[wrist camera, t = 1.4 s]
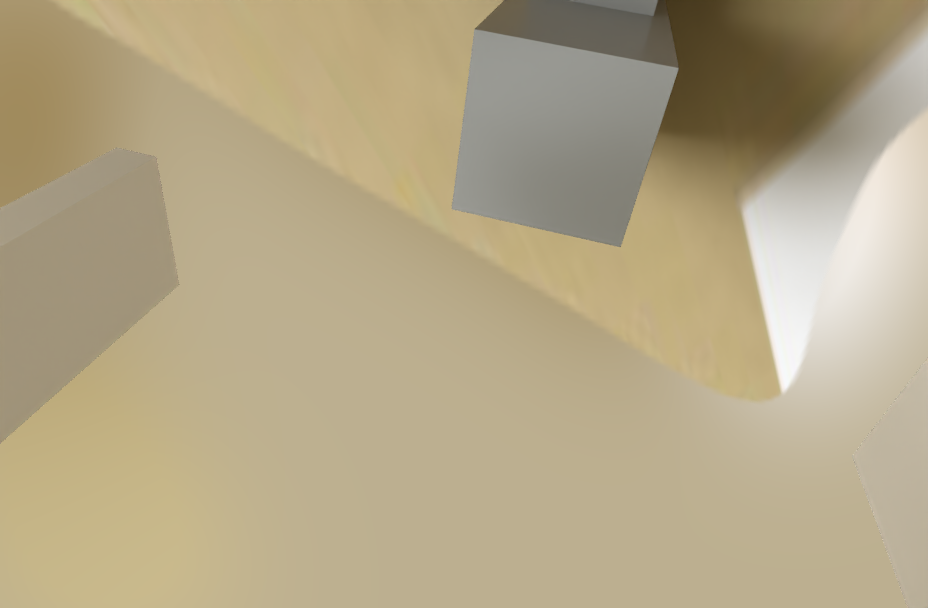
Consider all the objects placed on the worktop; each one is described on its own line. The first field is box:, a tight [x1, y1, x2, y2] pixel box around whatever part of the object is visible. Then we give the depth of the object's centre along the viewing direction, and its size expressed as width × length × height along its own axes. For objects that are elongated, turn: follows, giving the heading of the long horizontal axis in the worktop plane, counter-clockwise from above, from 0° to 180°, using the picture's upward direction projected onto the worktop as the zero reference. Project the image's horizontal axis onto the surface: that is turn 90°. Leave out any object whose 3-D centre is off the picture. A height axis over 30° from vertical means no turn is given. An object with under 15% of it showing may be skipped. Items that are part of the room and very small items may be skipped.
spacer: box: [452, 0, 679, 247], centre depth 19 cm, size 10×5×10 cm, turn 172°
